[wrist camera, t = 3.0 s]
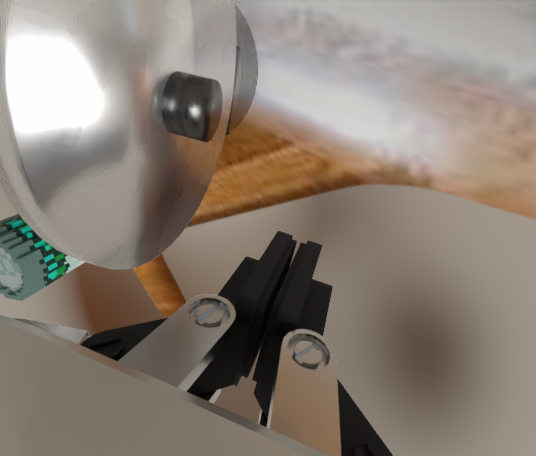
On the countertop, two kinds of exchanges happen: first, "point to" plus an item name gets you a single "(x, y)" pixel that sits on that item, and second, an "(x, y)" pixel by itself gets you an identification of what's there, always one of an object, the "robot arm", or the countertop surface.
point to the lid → (113, 119)
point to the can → (28, 260)
